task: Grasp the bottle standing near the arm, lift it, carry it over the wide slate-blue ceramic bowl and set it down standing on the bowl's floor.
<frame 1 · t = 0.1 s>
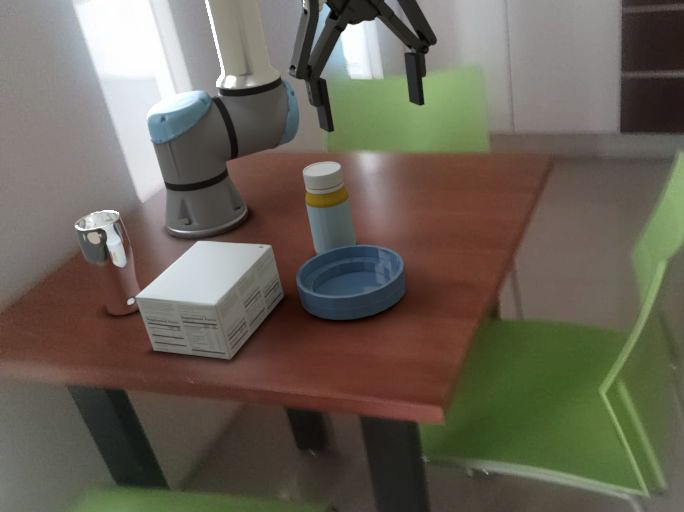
hand: (373, 116, 104), 28 cm above the table, tool pointing down, fingers open, 13 cm apart
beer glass: (127, 306, 125), on the table
bottle: (336, 253, 133), on the table
bowl: (354, 295, 120), on the table
supplement box: (221, 324, 117), on the table
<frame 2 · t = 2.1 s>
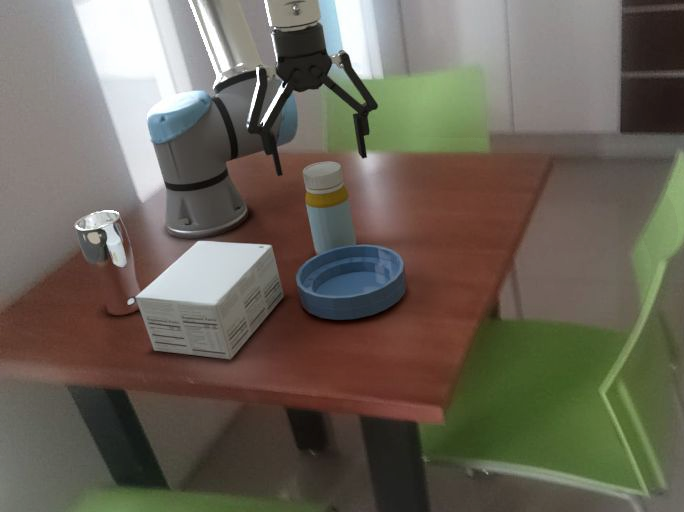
hand: (321, 164, 125), 16 cm above the table, tool pointing down, fingers open, 13 cm apart
nothing on the table moved.
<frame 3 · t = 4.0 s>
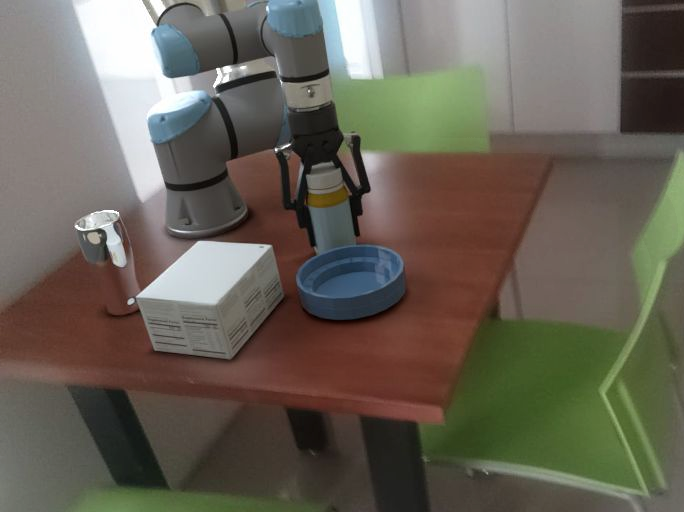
hand: (334, 238, 132), 3 cm above the table, tool pointing down, fingers closed on bottle, 7 cm apart
bottle: (336, 252, 133), on the table, touching gripper
everything else where it was.
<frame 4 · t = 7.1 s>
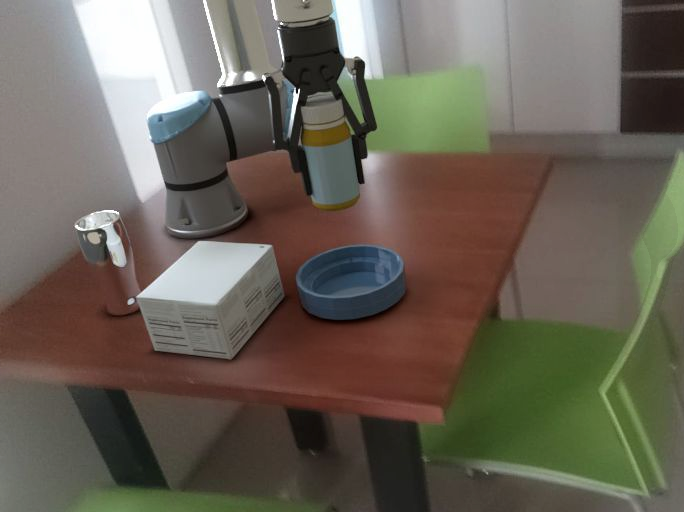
hand: (334, 186, 113), 17 cm above the table, tool pointing down, fingers closed on bottle, 7 cm apart
bottle: (337, 203, 114), point 14 cm above the table, touching gripper
everything else where it was.
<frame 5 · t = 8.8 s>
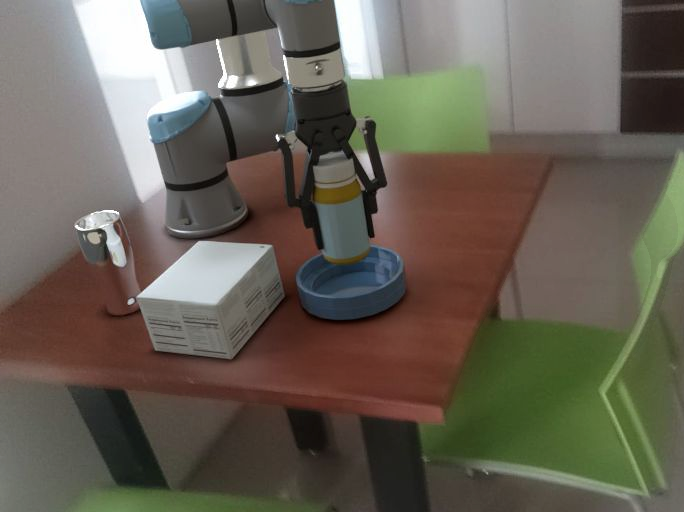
hand: (344, 239, 115), 10 cm above the table, tool pointing down, fingers closed on bottle, 7 cm apart
bottle: (347, 256, 117), point 7 cm above the table, touching gripper
everything else where it was.
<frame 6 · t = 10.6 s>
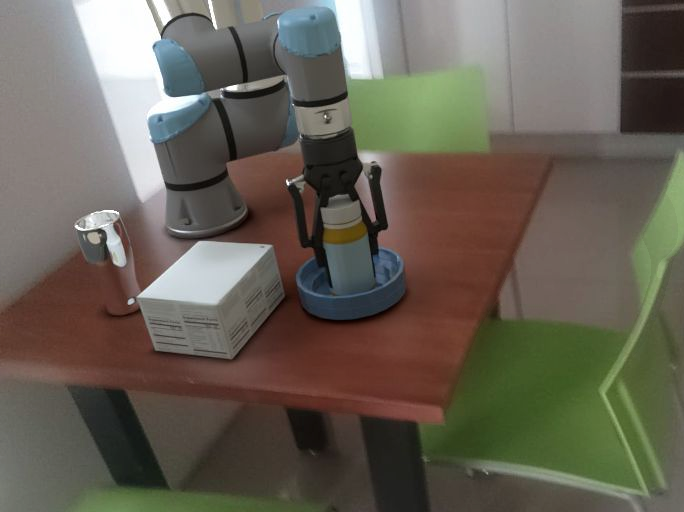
hand: (351, 278, 119), 3 cm above the table, tool pointing down, fingers closed on bottle, 6 cm apart
bottle: (353, 292, 120), point 1 cm above the table, touching bowl, gripper
everything else where it was.
when the fingers open (3 cm above the table, at t = 10.7 s): bottle stays where it is, resting on bowl.
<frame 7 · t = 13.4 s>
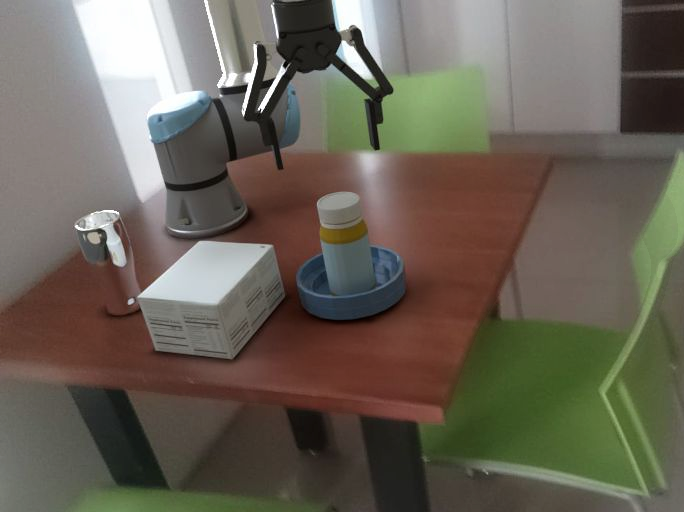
hand: (328, 157, 109), 22 cm above the table, tool pointing down, fingers open, 13 cm apart
bottle: (353, 292, 120), point 1 cm above the table, touching bowl
everything else where it was.
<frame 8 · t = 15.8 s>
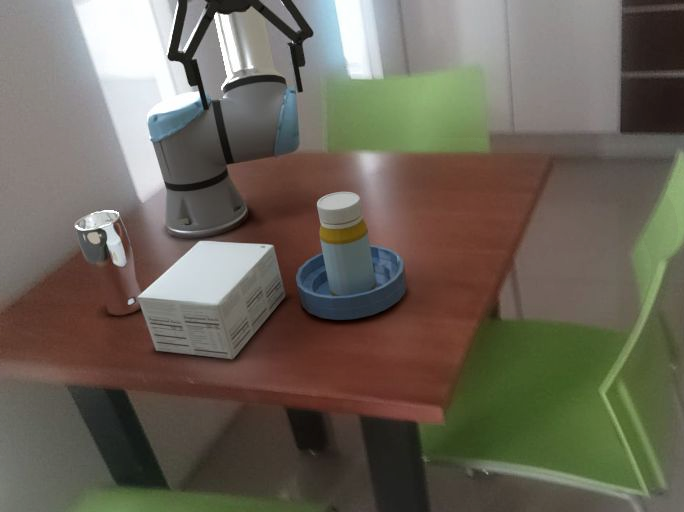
hand: (253, 98, 114), 29 cm above the table, tool pointing down, fingers open, 13 cm apart
nothing on the table moved.
at the end: bottle inside the target area in the bowl (0.1 cm from its centre), point 0.6 cm above the bowl's base; bottle tilted 0°; the gripper is holding nothing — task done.
